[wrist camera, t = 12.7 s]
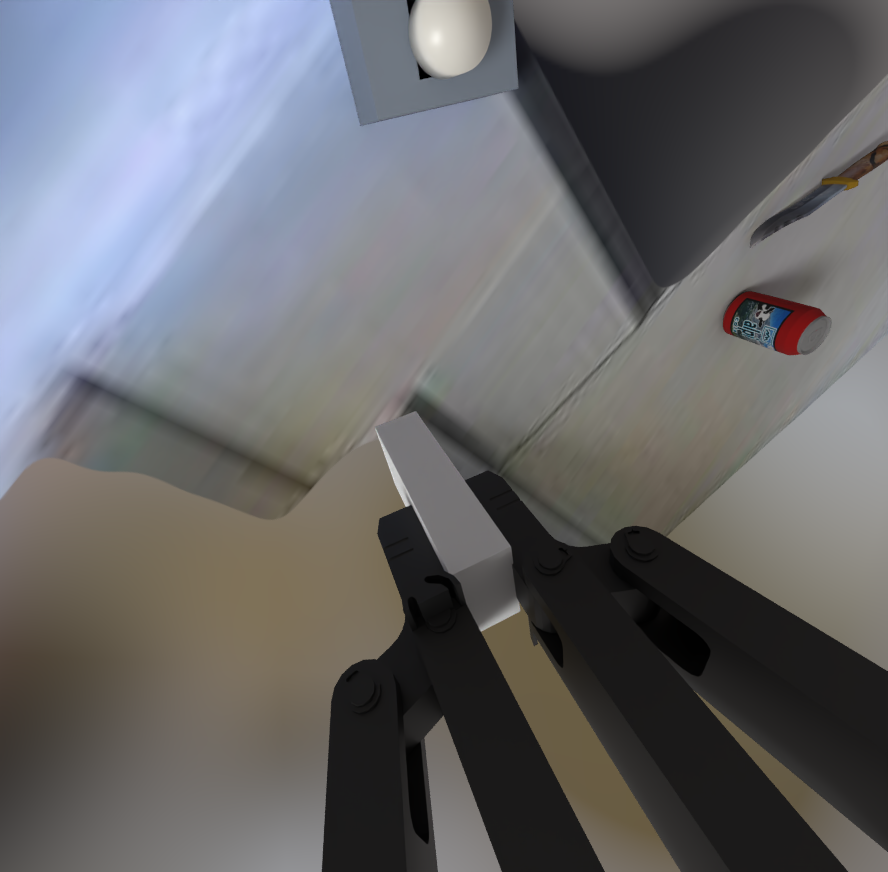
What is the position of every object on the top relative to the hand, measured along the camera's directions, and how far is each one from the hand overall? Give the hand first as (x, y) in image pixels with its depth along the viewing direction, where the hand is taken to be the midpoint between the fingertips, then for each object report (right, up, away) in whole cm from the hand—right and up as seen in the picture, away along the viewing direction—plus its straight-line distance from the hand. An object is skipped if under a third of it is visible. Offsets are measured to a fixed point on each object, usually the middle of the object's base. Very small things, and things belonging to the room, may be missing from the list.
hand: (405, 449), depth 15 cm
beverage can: (+48, +20, +52) cm, 73 cm away
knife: (+52, +35, +45) cm, 77 cm away
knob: (-1, +32, +19) cm, 37 cm away
